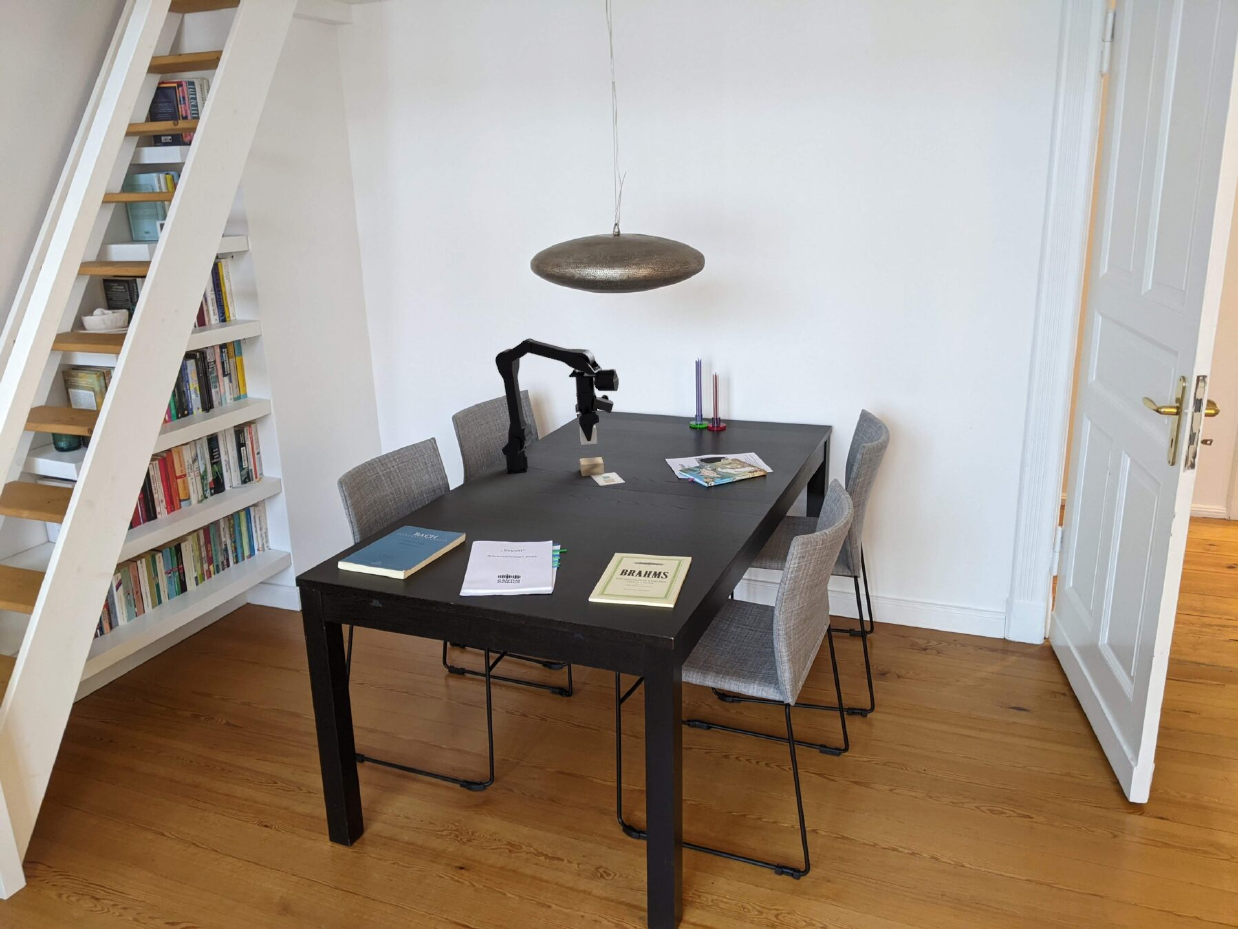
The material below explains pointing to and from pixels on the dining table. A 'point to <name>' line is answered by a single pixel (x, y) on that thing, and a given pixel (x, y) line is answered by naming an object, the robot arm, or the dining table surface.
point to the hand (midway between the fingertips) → (588, 438)
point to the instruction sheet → (607, 479)
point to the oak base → (591, 466)
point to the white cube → (593, 438)
